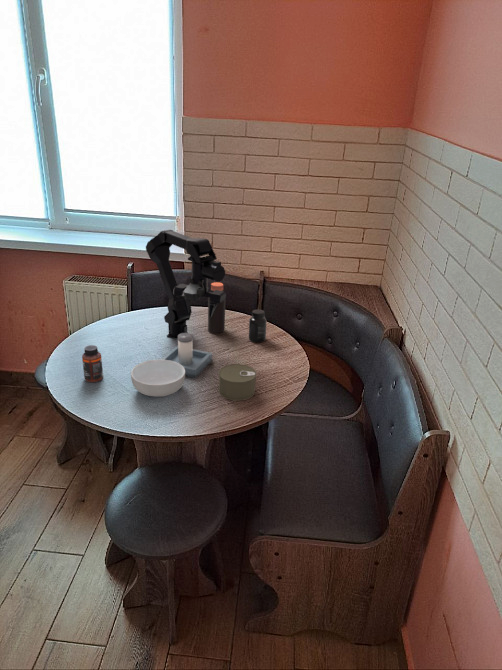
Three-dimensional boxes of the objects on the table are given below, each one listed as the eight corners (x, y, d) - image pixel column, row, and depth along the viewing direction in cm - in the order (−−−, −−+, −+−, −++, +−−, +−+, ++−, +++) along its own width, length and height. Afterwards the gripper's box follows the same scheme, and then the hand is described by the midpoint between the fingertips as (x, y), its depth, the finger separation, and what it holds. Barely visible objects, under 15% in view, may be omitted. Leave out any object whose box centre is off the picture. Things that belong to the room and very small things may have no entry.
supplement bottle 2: (266, 336, 200) (267, 309, 195) (264, 343, 194) (266, 315, 189) (249, 335, 200) (250, 307, 196) (247, 342, 194) (248, 314, 189)
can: (219, 381, 166) (220, 363, 163) (255, 382, 166) (256, 364, 163) (216, 400, 155) (217, 381, 152) (255, 402, 155) (256, 383, 152)
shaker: (175, 364, 173) (175, 337, 169) (182, 357, 177) (181, 331, 173) (188, 367, 171) (188, 340, 167) (195, 360, 176) (195, 334, 172)
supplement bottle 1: (107, 376, 165) (104, 345, 160) (96, 384, 160) (93, 353, 155) (91, 372, 167) (88, 342, 162) (80, 380, 162) (77, 349, 157)
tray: (158, 369, 171) (157, 361, 170) (177, 353, 183) (176, 345, 182) (195, 377, 167) (195, 370, 166) (211, 360, 179) (212, 353, 178)
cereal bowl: (161, 410, 148) (160, 390, 145) (120, 393, 156) (119, 373, 153) (196, 387, 161) (196, 368, 158) (157, 372, 169) (156, 354, 166)
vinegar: (205, 332, 201) (205, 285, 193) (211, 326, 207) (212, 280, 199) (221, 335, 199) (222, 287, 191) (226, 328, 205) (228, 282, 197)
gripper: (165, 276, 173) (166, 317, 180) (214, 285, 167) (213, 327, 174) (180, 268, 183) (180, 307, 189) (227, 276, 177) (225, 316, 184)
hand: (199, 314), depth 184 cm, fingers open, 9 cm apart
